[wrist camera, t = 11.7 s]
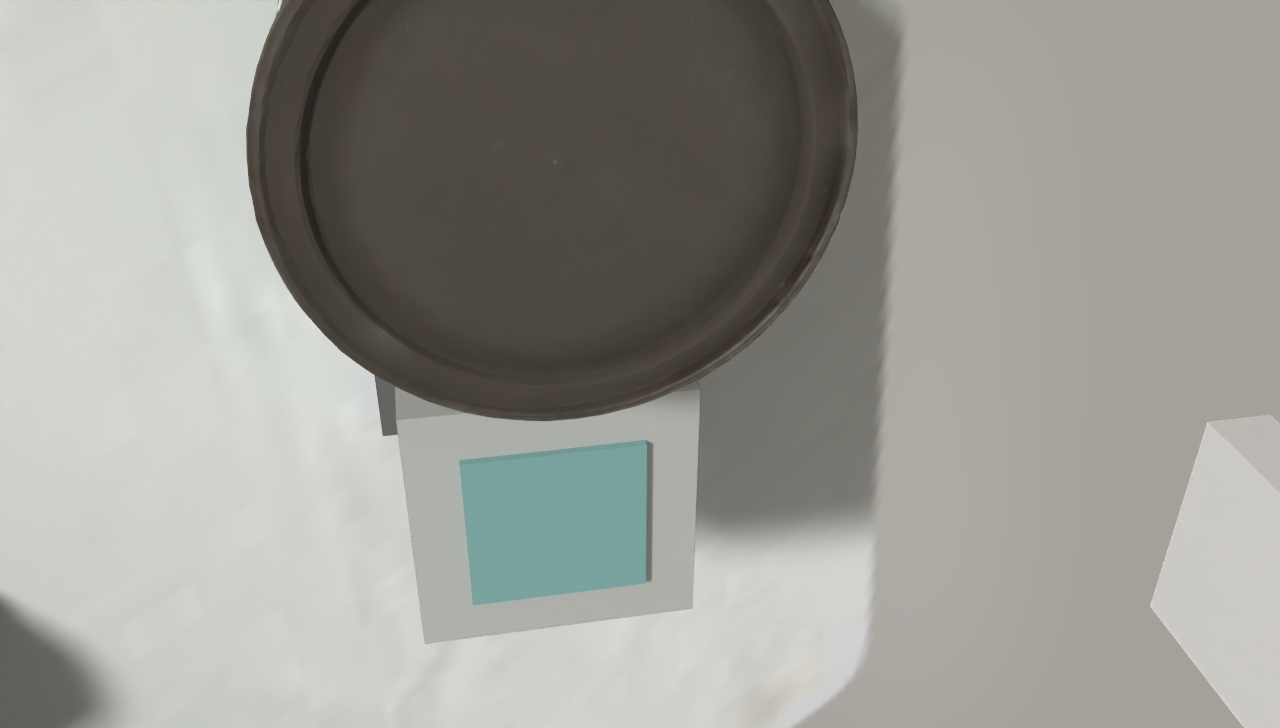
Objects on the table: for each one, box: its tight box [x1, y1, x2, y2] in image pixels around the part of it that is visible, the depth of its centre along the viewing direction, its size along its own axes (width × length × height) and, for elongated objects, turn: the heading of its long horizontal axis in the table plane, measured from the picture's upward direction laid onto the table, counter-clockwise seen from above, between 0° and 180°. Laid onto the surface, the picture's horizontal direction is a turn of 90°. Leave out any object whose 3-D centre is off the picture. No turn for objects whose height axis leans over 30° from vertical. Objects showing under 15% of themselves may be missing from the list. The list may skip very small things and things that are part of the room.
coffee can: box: [246, 0, 858, 421], centre depth 26 cm, size 10×10×14 cm
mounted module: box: [395, 381, 700, 644], centre depth 34 cm, size 7×7×10 cm
